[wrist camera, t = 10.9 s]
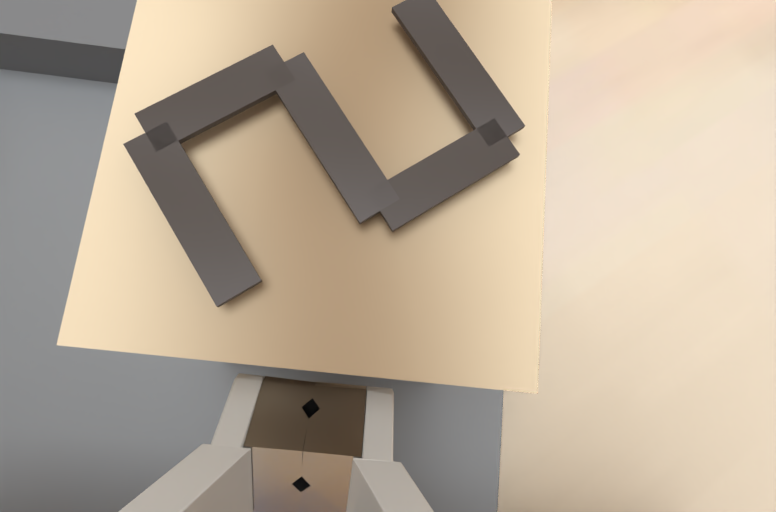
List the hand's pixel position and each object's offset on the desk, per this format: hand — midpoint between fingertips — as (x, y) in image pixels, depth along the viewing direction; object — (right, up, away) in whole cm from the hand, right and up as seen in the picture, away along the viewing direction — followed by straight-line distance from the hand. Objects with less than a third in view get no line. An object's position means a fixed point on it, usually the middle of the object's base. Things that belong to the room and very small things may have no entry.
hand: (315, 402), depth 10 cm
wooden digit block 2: (0, +3, +5) cm, 6 cm away
